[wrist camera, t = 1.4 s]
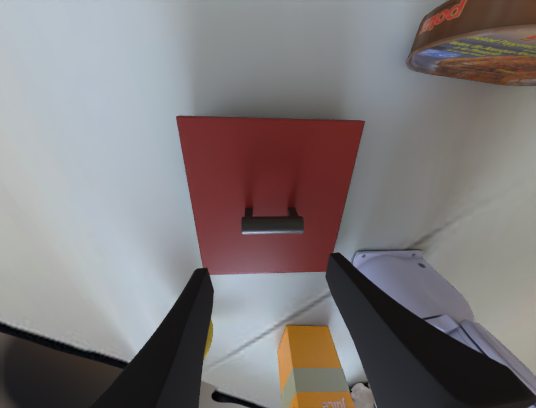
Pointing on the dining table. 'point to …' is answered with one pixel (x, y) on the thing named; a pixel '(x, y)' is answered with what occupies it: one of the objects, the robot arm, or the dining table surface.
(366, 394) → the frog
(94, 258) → the dining table surface
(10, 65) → the dining table surface
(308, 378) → the orange juice
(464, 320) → the robot arm
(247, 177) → the lid
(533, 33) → the tin
